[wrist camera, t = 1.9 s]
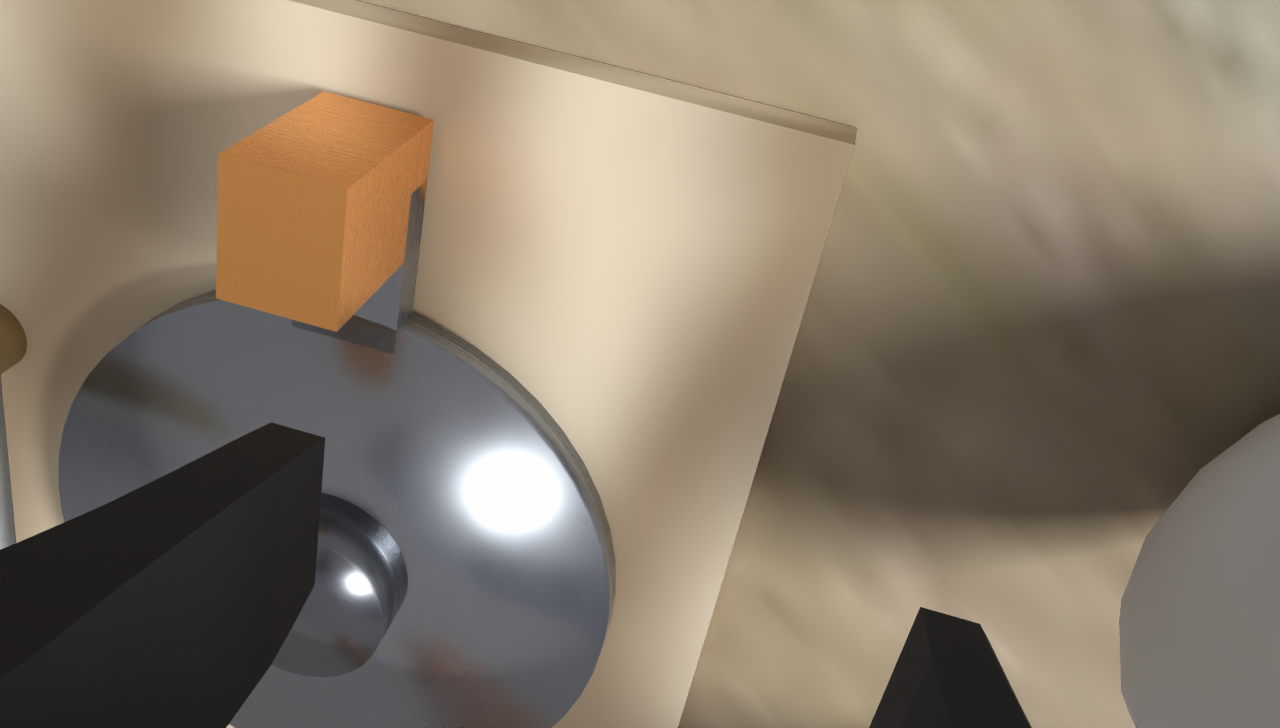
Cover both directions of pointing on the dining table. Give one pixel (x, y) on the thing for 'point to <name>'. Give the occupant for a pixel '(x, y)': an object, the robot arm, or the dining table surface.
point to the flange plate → (366, 444)
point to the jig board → (441, 254)
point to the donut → (1210, 598)
